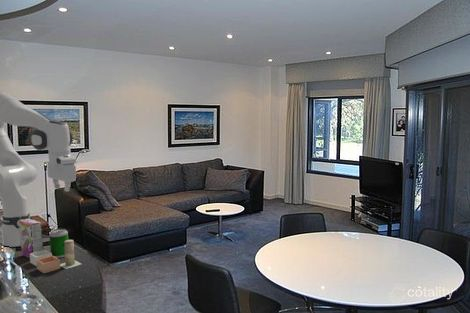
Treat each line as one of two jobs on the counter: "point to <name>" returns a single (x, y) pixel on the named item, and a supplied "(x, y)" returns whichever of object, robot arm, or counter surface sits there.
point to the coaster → (70, 266)
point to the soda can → (58, 242)
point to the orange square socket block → (48, 264)
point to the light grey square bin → (39, 256)
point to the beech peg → (69, 252)
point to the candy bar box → (30, 237)
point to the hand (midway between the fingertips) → (62, 189)
